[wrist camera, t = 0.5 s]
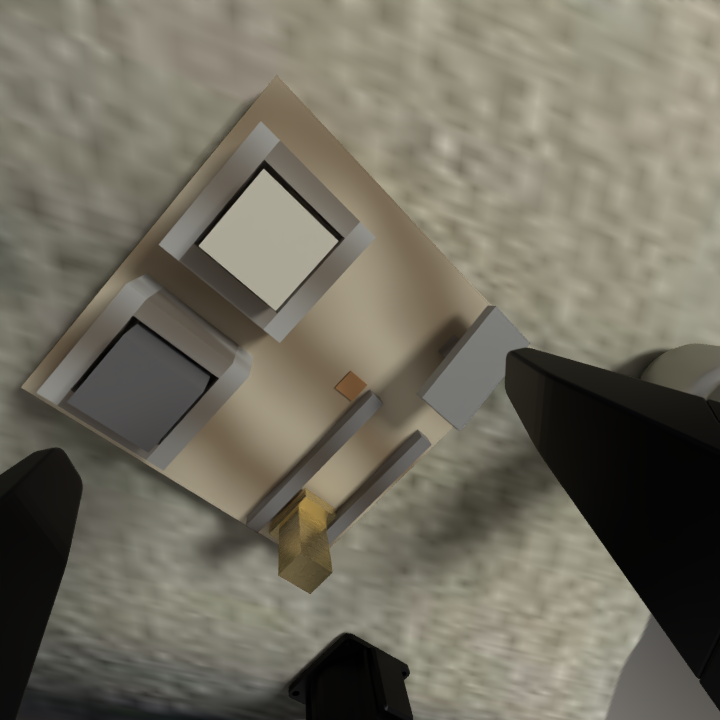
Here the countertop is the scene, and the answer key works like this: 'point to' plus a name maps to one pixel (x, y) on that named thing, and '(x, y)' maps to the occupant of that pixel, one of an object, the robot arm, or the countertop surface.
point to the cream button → (268, 241)
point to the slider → (304, 540)
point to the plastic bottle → (688, 370)
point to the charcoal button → (141, 387)
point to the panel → (283, 333)
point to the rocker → (472, 368)
